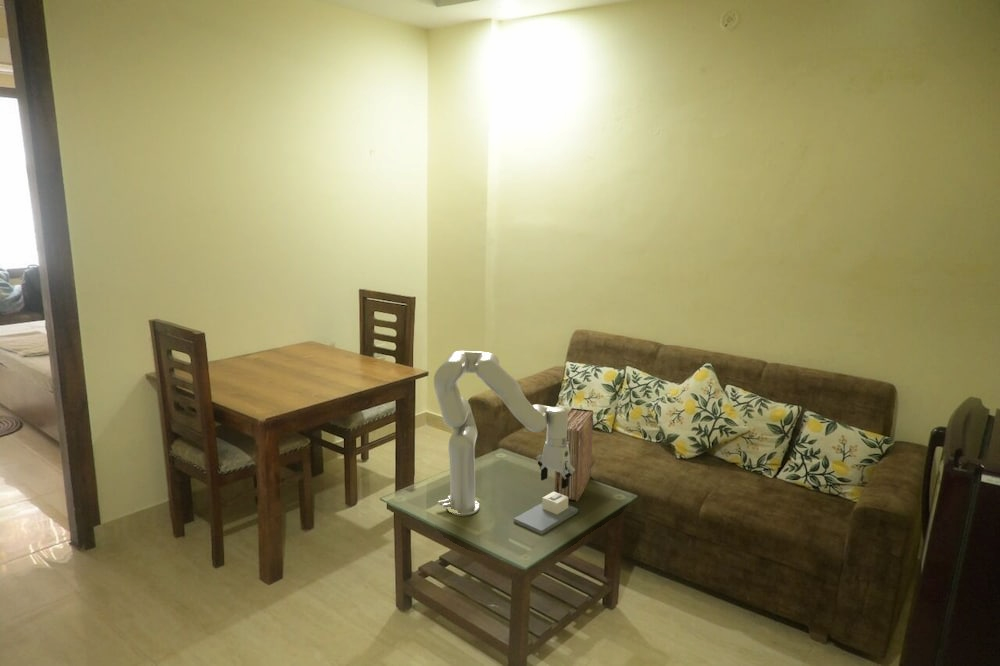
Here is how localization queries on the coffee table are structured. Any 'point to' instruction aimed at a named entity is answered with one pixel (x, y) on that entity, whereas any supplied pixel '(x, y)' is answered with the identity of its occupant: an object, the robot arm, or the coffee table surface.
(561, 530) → the coffee table surface
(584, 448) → the book
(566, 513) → the grey flat piece
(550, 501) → the collar
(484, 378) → the robot arm
